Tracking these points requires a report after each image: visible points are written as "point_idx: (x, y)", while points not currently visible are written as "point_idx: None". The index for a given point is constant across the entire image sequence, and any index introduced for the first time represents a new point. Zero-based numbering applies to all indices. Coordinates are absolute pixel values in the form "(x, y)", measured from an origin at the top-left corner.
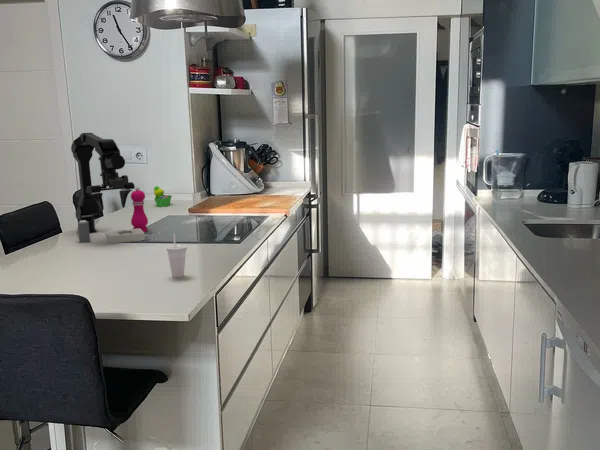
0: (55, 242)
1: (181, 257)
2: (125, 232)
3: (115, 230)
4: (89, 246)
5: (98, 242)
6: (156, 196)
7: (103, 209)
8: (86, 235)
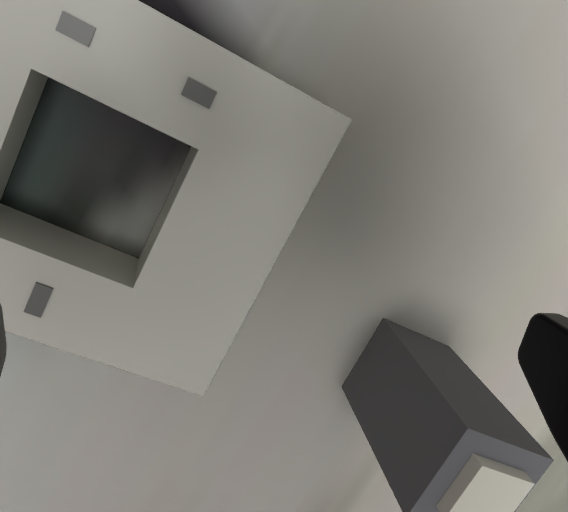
0: None
1: None
2: (48, 246)
3: (115, 358)
4: (500, 159)
5: (354, 248)
6: None
7: (545, 314)
8: (429, 359)
